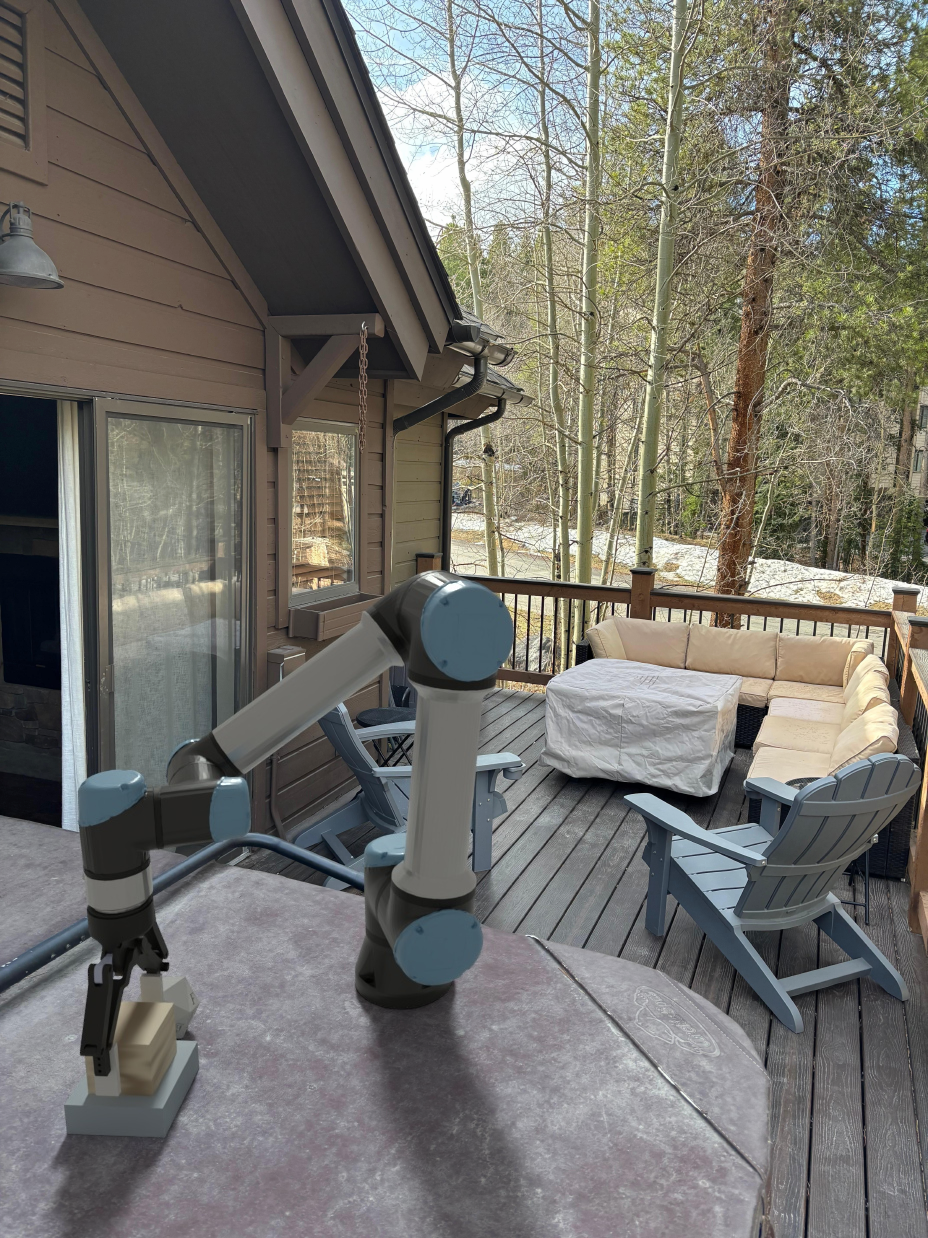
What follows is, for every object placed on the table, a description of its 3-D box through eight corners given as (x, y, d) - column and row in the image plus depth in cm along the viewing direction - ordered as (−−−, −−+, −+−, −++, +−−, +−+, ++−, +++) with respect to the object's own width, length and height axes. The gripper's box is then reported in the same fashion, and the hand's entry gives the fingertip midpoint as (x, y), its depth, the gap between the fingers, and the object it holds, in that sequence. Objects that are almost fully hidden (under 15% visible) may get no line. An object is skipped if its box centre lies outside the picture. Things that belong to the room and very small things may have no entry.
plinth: (199, 1068, 116) (197, 1041, 116) (164, 1137, 105) (162, 1108, 104) (110, 1064, 117) (108, 1038, 116) (66, 1134, 105) (63, 1105, 104)
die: (161, 1066, 118) (202, 1001, 119) (109, 1030, 118) (150, 966, 120) (180, 1046, 126) (218, 986, 127) (131, 1013, 126) (169, 954, 128)
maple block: (177, 1051, 114) (173, 1003, 112) (153, 1096, 106) (149, 1045, 104) (116, 1049, 114) (112, 1001, 113) (88, 1094, 106) (83, 1043, 105)
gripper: (132, 851, 118) (143, 992, 122) (35, 957, 93) (52, 1129, 97) (187, 852, 117) (196, 994, 122) (103, 959, 93) (118, 1132, 97)
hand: (132, 1054), depth 110 cm, fingers open, 13 cm apart
